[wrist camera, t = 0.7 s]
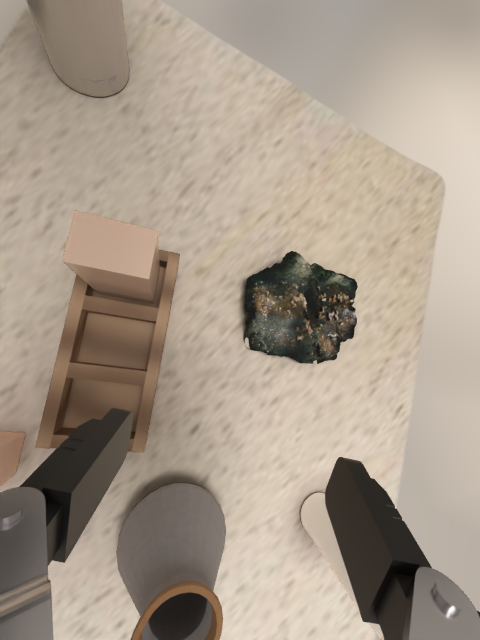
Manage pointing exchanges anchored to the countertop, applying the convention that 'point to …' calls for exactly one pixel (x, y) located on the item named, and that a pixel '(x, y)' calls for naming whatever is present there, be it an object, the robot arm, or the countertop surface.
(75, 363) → the wooden divided tray
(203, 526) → the coffee pot
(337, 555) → the drinking glass
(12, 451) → the clay bar
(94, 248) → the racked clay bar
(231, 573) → the countertop surface
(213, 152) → the countertop surface
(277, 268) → the decorative rock
